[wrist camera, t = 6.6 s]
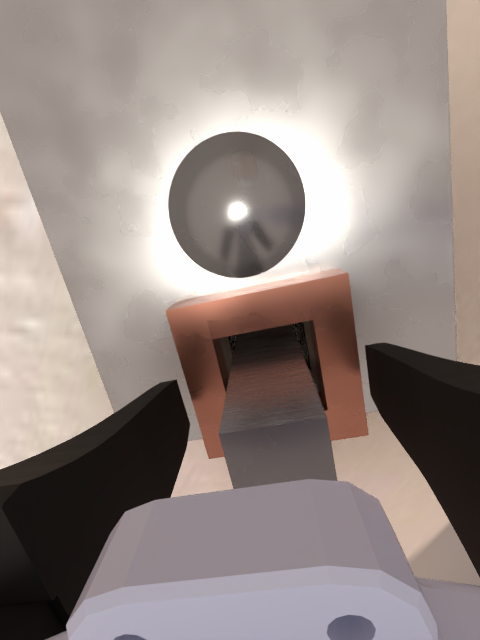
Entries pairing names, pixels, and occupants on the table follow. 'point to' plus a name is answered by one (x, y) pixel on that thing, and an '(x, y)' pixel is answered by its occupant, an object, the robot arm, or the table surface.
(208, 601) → the robot arm
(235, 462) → the grey rectangular block
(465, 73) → the table surface
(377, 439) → the table surface
